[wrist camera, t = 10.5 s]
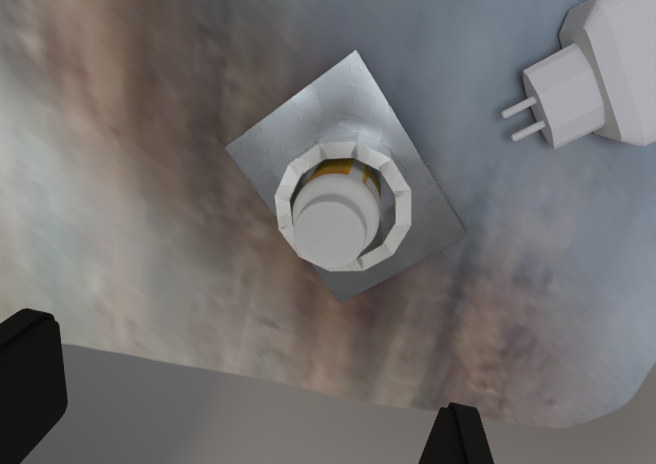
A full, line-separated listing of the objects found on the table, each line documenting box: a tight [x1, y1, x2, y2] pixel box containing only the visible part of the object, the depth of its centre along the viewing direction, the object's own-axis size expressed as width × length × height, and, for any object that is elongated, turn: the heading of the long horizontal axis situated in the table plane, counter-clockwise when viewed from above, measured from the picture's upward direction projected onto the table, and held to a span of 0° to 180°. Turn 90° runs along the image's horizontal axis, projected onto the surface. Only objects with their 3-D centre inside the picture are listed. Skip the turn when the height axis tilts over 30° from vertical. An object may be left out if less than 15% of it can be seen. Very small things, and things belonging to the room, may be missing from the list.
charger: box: [501, 0, 656, 150], centre depth 25 cm, size 5×9×15 cm
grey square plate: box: [225, 50, 468, 303], centre depth 29 cm, size 16×12×6 cm
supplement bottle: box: [293, 158, 381, 268], centre depth 26 cm, size 5×5×10 cm
